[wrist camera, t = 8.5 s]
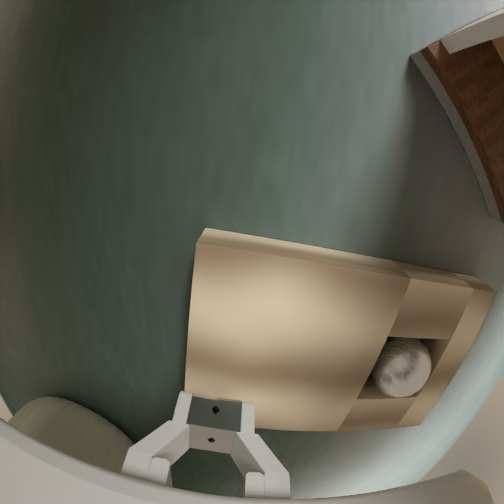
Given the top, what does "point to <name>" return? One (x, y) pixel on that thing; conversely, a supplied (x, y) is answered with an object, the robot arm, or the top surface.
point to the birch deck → (320, 330)
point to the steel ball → (402, 367)
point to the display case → (473, 96)
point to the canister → (74, 431)
